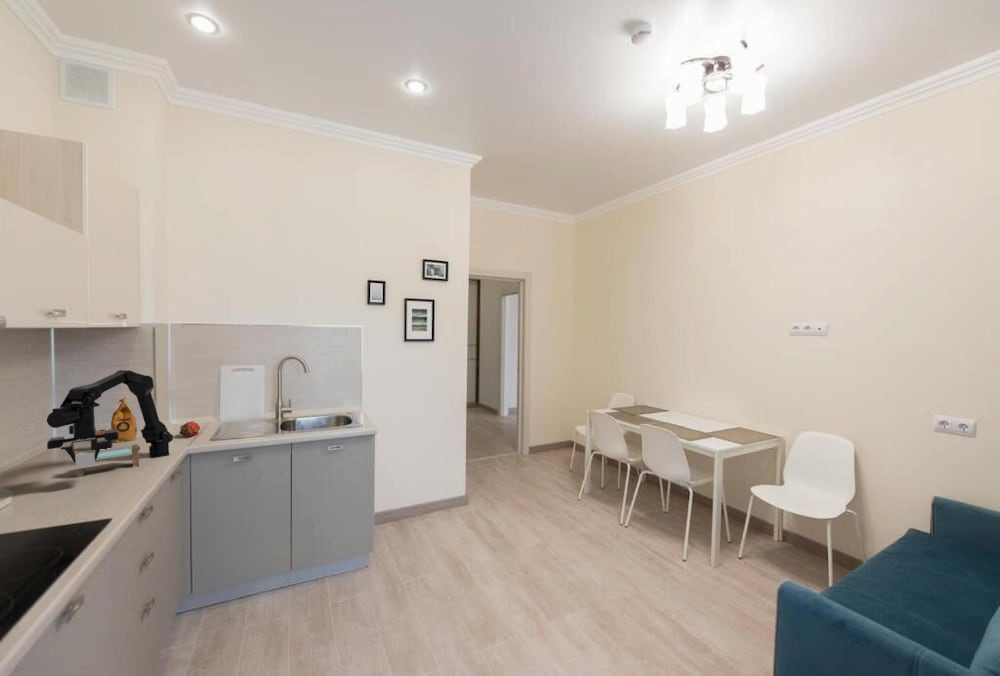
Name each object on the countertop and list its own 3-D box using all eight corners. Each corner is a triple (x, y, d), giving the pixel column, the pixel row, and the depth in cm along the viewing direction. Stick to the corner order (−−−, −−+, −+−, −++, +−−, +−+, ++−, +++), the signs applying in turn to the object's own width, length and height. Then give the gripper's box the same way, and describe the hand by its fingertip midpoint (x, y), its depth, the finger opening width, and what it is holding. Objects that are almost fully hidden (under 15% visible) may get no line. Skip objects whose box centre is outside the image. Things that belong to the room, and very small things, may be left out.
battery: (93, 449, 198) (92, 428, 197) (112, 446, 201) (111, 426, 201) (91, 451, 194) (90, 430, 193) (110, 449, 198) (109, 428, 197)
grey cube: (95, 462, 159) (94, 449, 159) (94, 466, 156) (94, 453, 155) (76, 465, 156) (76, 452, 155) (75, 469, 152) (75, 456, 152)
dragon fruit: (186, 442, 214) (190, 439, 225) (202, 431, 218) (205, 428, 229) (174, 430, 213) (178, 428, 223) (190, 419, 216) (194, 417, 227)
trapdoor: (130, 452, 181) (130, 445, 181) (130, 458, 173) (130, 451, 173) (86, 459, 171) (86, 452, 171) (85, 466, 164) (84, 459, 163)
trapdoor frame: (140, 462, 181) (139, 443, 180) (140, 465, 177) (140, 446, 177) (75, 474, 167) (75, 453, 167) (74, 477, 164) (74, 456, 163)
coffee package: (110, 444, 205) (108, 400, 204) (112, 438, 215) (110, 396, 214) (136, 440, 212) (135, 398, 210) (137, 434, 221) (136, 394, 220)
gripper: (117, 412, 167) (119, 450, 168) (49, 420, 154) (51, 461, 155) (117, 418, 159) (119, 457, 160) (46, 426, 146) (48, 469, 147)
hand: (85, 461), depth 156 cm, fingers closed on grey cube, 5 cm apart
